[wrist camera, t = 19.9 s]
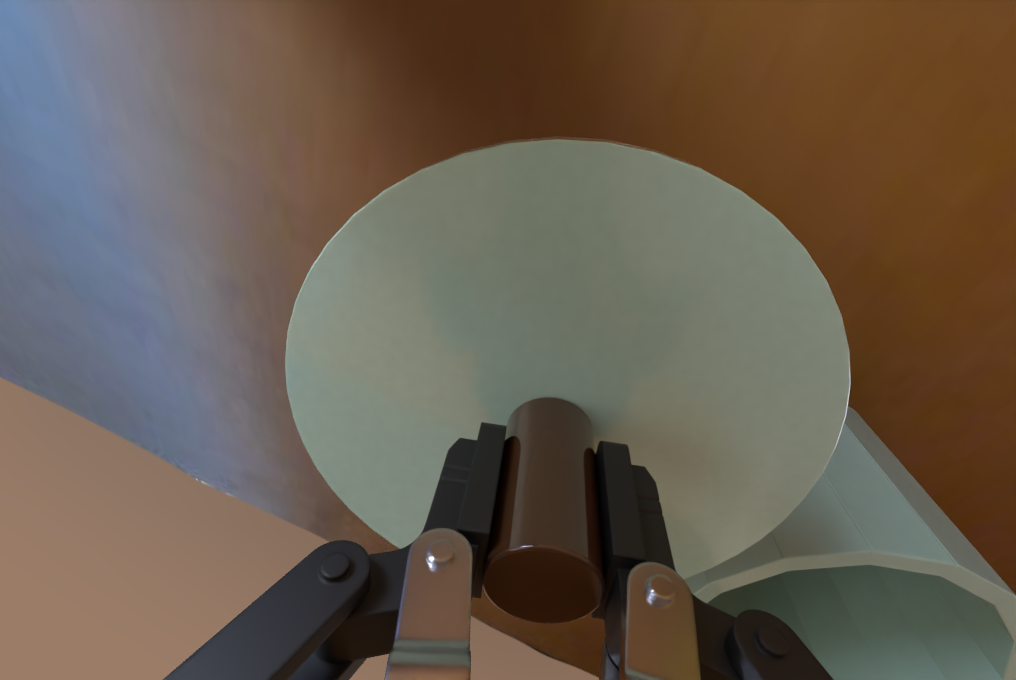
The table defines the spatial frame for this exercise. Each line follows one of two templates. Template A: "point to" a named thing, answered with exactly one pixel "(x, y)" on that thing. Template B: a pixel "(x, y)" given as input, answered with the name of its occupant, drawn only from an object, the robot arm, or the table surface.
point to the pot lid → (569, 357)
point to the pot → (874, 576)
